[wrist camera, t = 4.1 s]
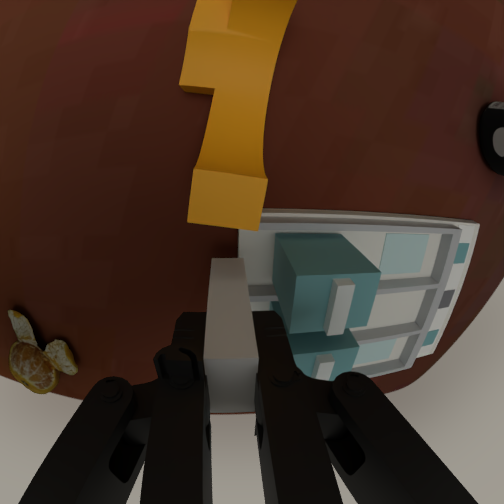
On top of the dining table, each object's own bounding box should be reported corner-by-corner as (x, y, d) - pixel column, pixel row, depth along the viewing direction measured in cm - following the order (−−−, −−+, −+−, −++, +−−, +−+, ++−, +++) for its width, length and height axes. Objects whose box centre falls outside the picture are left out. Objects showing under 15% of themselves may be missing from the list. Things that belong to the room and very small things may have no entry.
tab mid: (267, 336, 18) (281, 400, 13) (270, 299, 17) (288, 364, 12) (322, 332, 19) (349, 390, 14) (330, 297, 18) (364, 354, 13)
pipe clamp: (208, 0, 11) (202, -59, 5) (280, 11, 12) (309, -42, 6) (171, 185, 15) (140, 216, 9) (244, 195, 16) (258, 231, 10)
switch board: (237, 375, 22) (239, 395, 20) (238, 208, 16) (240, 219, 14) (428, 347, 24) (438, 360, 22) (472, 220, 18) (489, 229, 16)
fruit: (83, 354, 19) (69, 386, 16) (69, 390, 22) (58, 416, 18) (10, 301, 16) (-12, 327, 13) (8, 347, 19) (-7, 371, 16)
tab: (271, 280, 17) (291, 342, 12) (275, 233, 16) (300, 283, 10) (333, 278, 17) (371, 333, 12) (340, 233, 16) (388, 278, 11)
